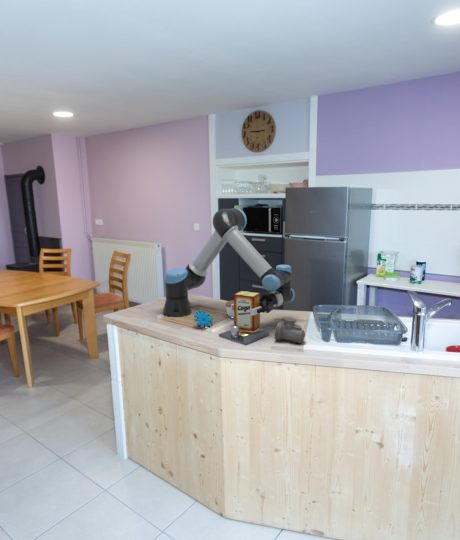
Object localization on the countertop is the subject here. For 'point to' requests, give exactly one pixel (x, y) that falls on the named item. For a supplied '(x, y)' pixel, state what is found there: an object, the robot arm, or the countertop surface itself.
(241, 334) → the carrier plate
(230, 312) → the lidded jar
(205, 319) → the gear
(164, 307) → the robot arm
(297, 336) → the pipe fitting
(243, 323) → the baking soda box
